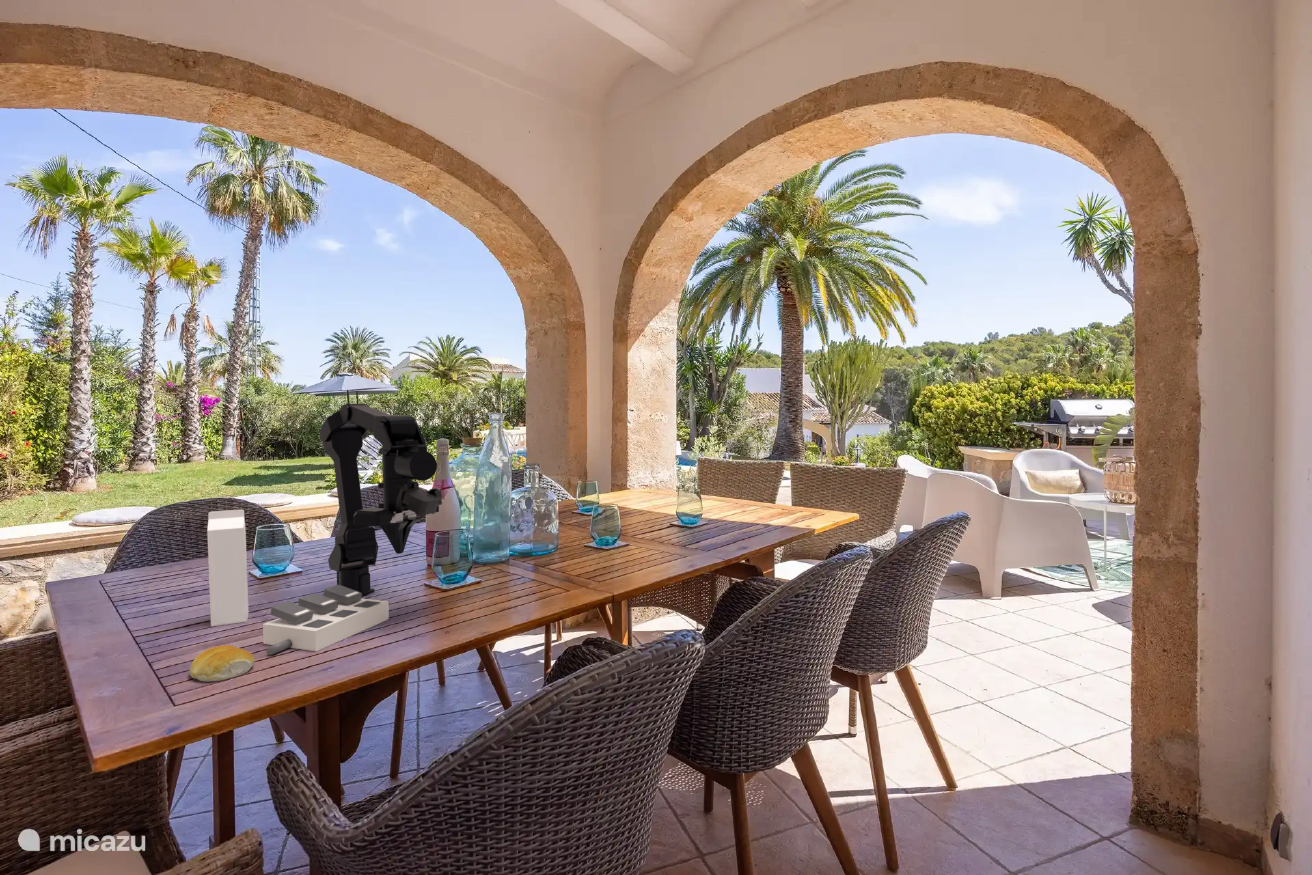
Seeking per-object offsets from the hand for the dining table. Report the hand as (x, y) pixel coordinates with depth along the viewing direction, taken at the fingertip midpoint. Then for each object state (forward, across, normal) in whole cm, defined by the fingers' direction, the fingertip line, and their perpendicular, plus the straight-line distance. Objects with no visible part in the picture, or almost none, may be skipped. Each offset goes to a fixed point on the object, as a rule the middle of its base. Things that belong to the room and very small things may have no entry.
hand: (399, 553), depth 134 cm
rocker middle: (+8, -13, +8) cm, 17 cm away
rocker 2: (+8, -7, +8) cm, 13 cm away
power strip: (+13, -15, +6) cm, 20 cm away
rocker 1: (+8, -19, +8) cm, 22 cm away
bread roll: (+13, -33, +7) cm, 36 cm away
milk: (+13, -14, +30) cm, 35 cm away
